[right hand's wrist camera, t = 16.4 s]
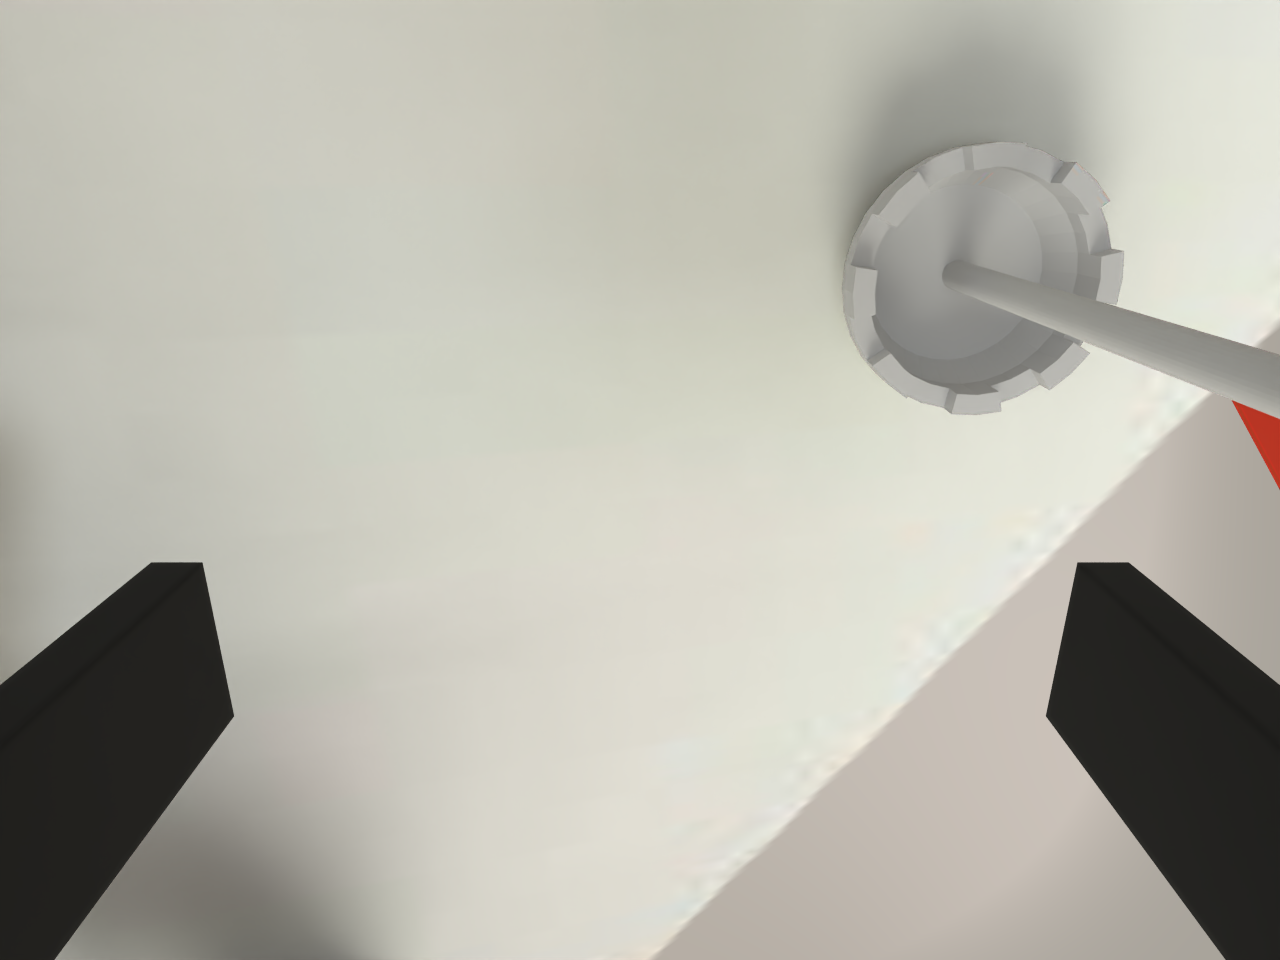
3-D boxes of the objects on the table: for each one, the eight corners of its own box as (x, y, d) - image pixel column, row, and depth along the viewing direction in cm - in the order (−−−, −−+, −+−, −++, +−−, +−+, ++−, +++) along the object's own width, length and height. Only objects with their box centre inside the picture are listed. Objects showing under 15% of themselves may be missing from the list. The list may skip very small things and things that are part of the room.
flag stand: (793, 215, 44) (1056, 299, 16) (1030, 97, 42) (1795, -35, 14) (877, 425, 49) (1203, 781, 21) (1098, 328, 47) (1792, 574, 18)
